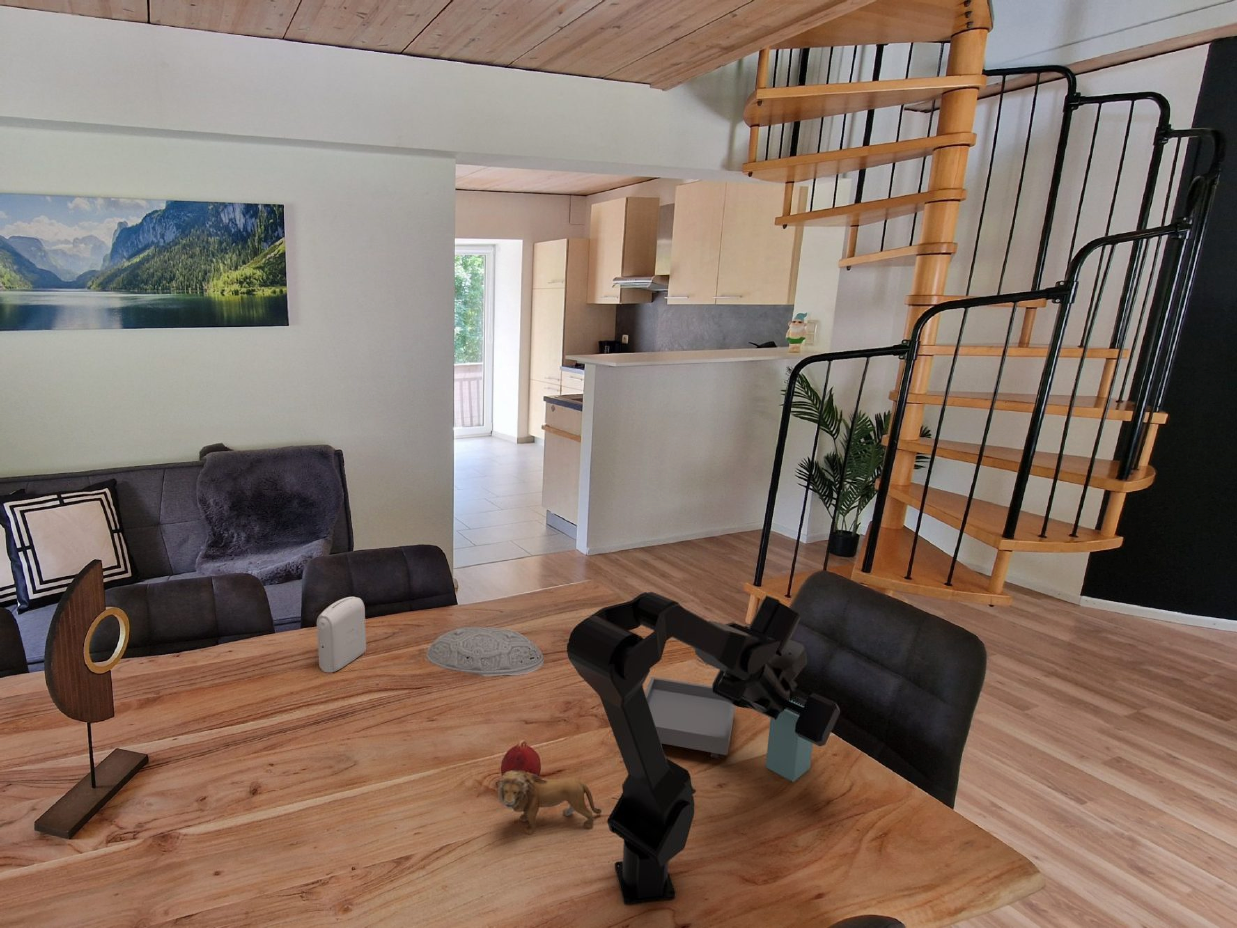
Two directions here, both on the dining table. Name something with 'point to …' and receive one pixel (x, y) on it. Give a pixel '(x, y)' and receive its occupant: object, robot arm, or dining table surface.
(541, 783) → the lion figurine
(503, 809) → the dining table surface
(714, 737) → the grey footed tray
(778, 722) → the light blue block
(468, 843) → the dining table surface
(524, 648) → the grey carved oval dome
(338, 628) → the photo printer
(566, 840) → the dining table surface
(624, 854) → the robot arm
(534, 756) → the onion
